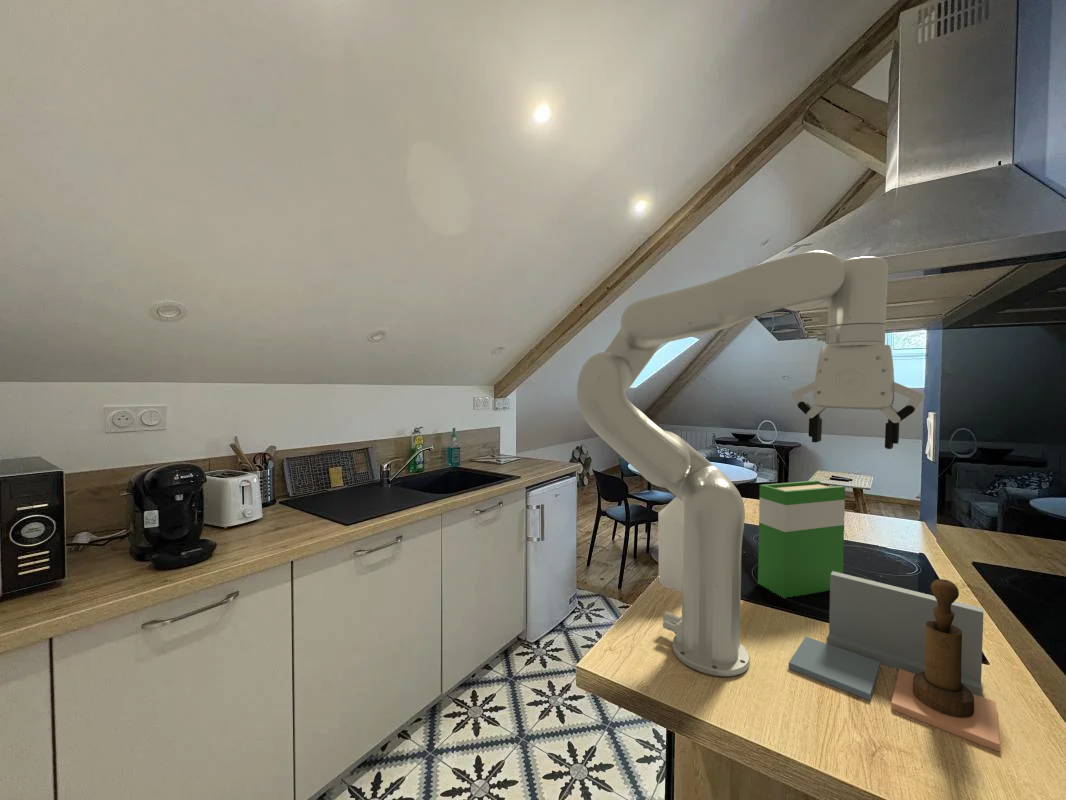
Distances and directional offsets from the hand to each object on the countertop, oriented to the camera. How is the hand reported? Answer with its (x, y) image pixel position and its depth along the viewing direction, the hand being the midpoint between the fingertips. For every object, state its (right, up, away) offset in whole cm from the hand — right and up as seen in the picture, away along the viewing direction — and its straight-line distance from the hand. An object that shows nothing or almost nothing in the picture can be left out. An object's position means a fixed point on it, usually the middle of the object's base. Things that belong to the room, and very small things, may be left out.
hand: (851, 444), depth 72 cm
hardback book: (+12, -37, +34) cm, 52 cm away
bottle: (-15, -37, +36) cm, 54 cm away
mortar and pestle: (+9, -37, -6) cm, 39 cm away
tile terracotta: (+9, -38, -6) cm, 40 cm away
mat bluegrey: (-1, -38, +3) cm, 38 cm away
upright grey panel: (+12, -38, +5) cm, 40 cm away
